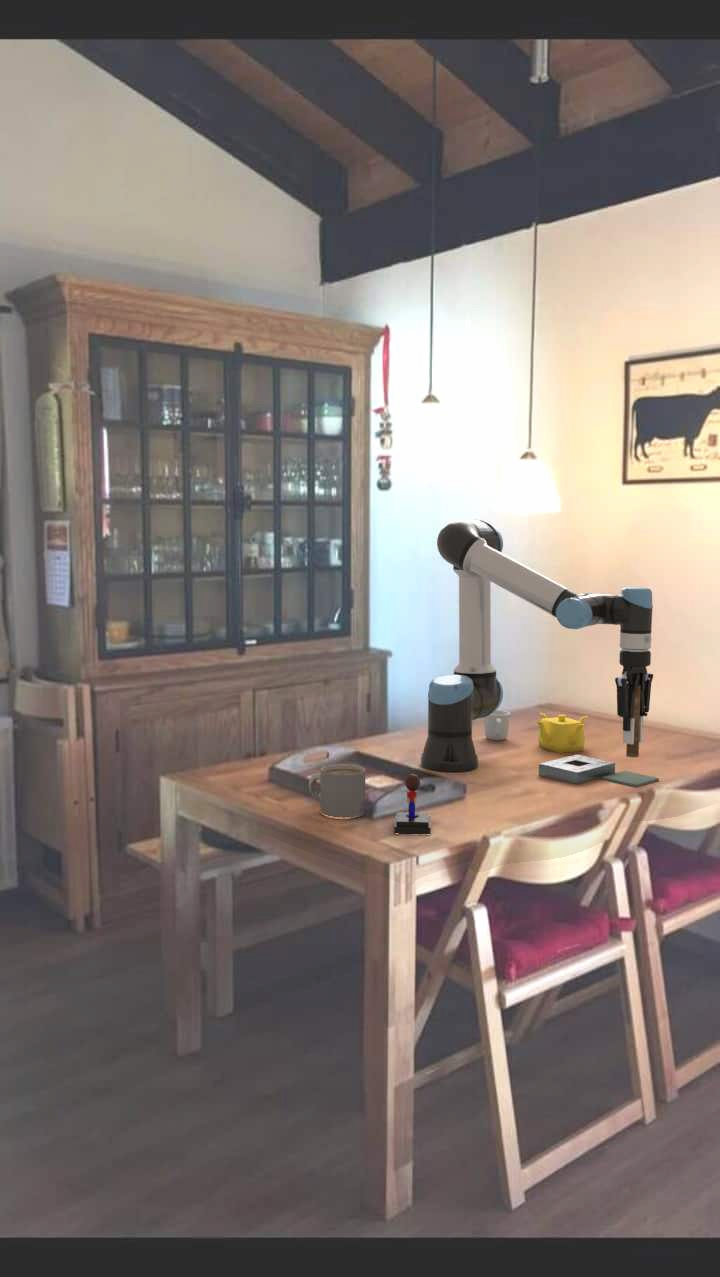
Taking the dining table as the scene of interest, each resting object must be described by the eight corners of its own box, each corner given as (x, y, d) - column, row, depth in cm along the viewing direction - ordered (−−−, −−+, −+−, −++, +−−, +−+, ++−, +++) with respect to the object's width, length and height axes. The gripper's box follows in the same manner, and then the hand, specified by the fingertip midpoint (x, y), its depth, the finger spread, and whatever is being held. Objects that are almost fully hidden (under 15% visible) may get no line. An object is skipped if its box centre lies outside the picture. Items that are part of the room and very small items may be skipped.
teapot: (539, 741, 307) (539, 709, 306) (587, 744, 303) (588, 712, 302) (532, 752, 293) (533, 718, 292) (583, 755, 289) (584, 721, 288)
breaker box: (576, 784, 258) (577, 772, 257) (538, 775, 267) (539, 763, 266) (614, 774, 268) (615, 762, 268) (576, 765, 277) (577, 754, 277)
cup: (512, 744, 303) (513, 717, 302) (485, 743, 303) (485, 716, 302) (508, 736, 314) (508, 710, 313) (481, 735, 314) (482, 709, 313)
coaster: (636, 787, 255) (636, 784, 255) (601, 779, 263) (602, 776, 263) (658, 780, 262) (658, 778, 262) (624, 772, 269) (625, 770, 269)
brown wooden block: (634, 757, 259) (636, 686, 257) (623, 755, 262) (625, 685, 260) (641, 756, 261) (643, 685, 259) (630, 754, 264) (632, 683, 262)
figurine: (429, 823, 224) (430, 768, 223) (430, 835, 216) (431, 778, 214) (394, 822, 224) (395, 768, 223) (394, 834, 216) (395, 778, 215)
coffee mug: (374, 812, 232) (374, 768, 231) (345, 822, 224) (345, 777, 223) (328, 801, 240) (329, 759, 239) (299, 810, 233) (299, 767, 232)
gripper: (629, 653, 250) (626, 749, 253) (666, 648, 261) (663, 740, 264) (603, 650, 256) (600, 744, 259) (640, 645, 267) (637, 735, 269)
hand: (632, 742), depth 261 cm, fingers closed on brown wooden block, 3 cm apart
